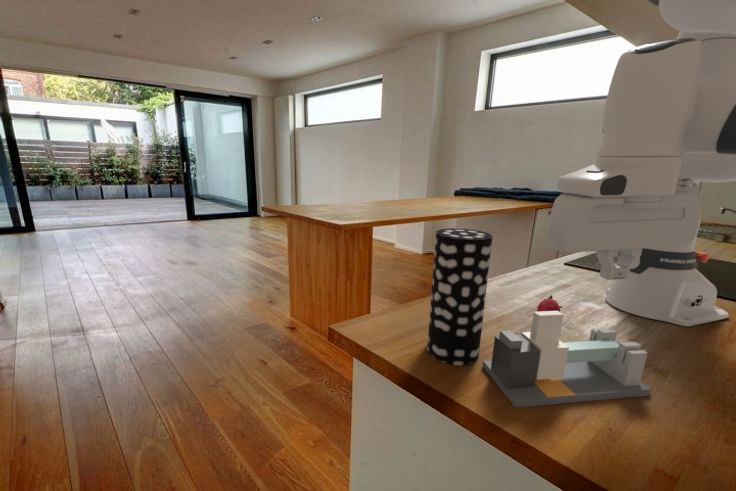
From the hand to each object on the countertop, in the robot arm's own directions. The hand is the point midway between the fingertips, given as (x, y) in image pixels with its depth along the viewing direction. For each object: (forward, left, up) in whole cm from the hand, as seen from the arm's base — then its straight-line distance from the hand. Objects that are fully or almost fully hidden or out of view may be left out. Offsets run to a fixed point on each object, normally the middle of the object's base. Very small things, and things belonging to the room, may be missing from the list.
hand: (613, 277), depth 48 cm
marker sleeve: (+10, +1, -13) cm, 17 cm away
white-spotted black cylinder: (+19, -8, -15) cm, 26 cm away
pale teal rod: (+7, +1, -12) cm, 13 cm away
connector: (+15, +1, -15) cm, 21 cm away
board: (+7, +1, -15) cm, 17 cm away
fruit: (-4, -17, -15) cm, 23 cm away
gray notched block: (-1, +1, -15) cm, 15 cm away
